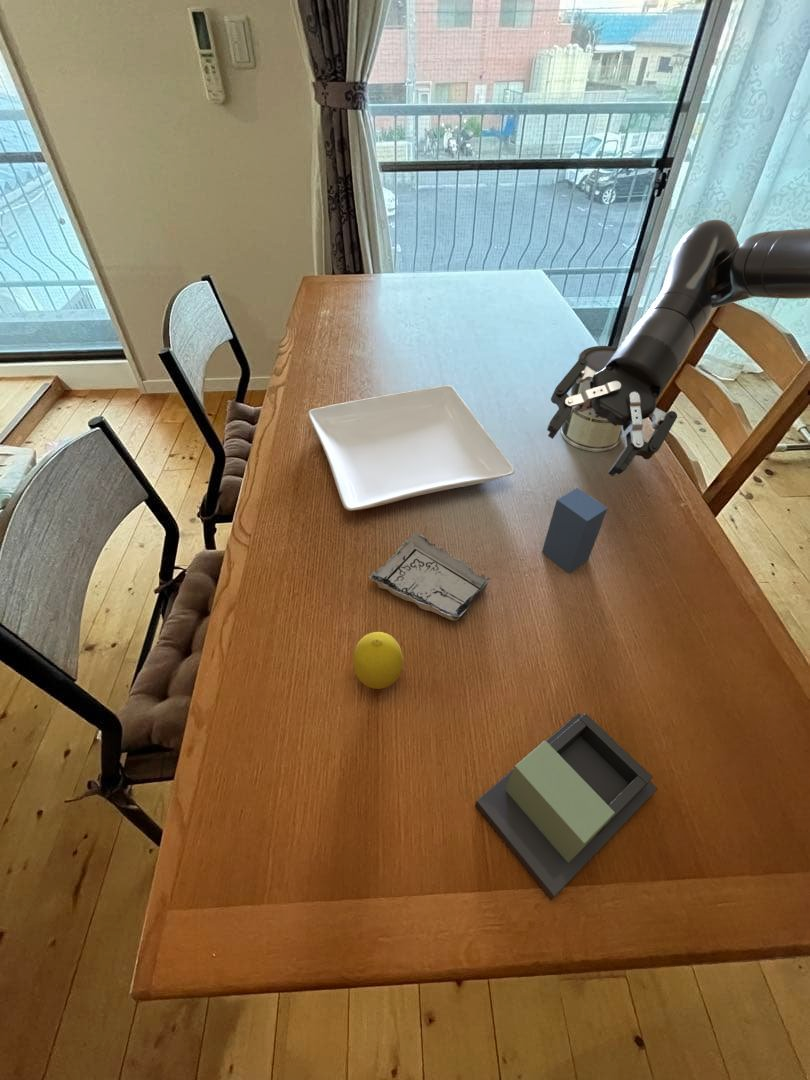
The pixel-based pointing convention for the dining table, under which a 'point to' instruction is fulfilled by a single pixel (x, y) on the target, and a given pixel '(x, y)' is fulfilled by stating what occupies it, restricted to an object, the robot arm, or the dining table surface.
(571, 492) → the blue rectangular block
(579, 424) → the coffee can
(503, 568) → the dining table surface
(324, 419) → the square plate
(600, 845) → the seat frame
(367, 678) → the lemon
